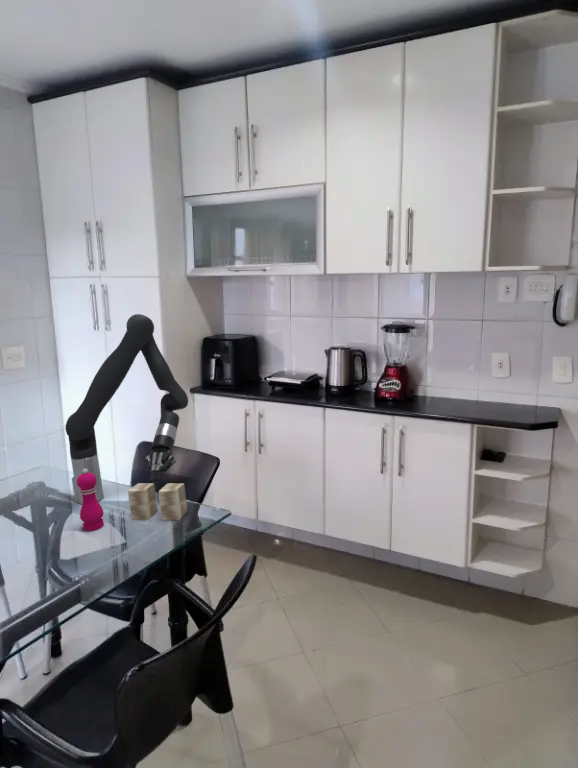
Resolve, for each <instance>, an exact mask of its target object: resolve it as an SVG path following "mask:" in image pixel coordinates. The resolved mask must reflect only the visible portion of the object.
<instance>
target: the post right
mask: <svg viewBox="0 0 578 768" xmlns="http://www.w3.org/2000/svg"><path fill="white" fill-rule="evenodd" d="M158 498H159V504H160V505H159V506H160V514H161V520H162V521H180V520H181V519H182V518H183V517H184V516H185V515H186V514H187V513H188V503H187V497H186V488H185V483H176V482H174V483H172V482H171V483H166V484H165V485H164V486H163V487H161V488H160V489H159V490H158Z"/></svg>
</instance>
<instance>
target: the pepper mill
mask: <svg viewBox="0 0 578 768" xmlns="http://www.w3.org/2000/svg"><path fill="white" fill-rule="evenodd" d="M82 473H83V474H81V475H80V476H79V477H78V478H77V485H78V487H80V494H82V497H83V504H81V509H80V512H79V519H80V521H82V522H83V523H82V529H83V530H84V531H85V532H92V531H96V530H99V529H101V528H103V527H104V525H105V523H104V519H103V516H104V510H103V509H104V508H103V507H102V506H101V503H100V501H97V499H96V495H95V491H96V486H95V484H96V481H97V479H96V476H95V475H94V474H93V473H88V469H83V470H82Z"/></svg>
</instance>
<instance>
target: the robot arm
mask: <svg viewBox="0 0 578 768" xmlns="http://www.w3.org/2000/svg"><path fill="white" fill-rule="evenodd" d="M125 328H126V331H125V333H124V335H123V336H122V338H121V341H120V342H119V344H118V346H117V347H116V348H115V349H114V350H113V351H111V354H110V355H108V356H107V358H106V359H105V360H104V362H103V363H102V364H101V366H100V367H99V369H98V371H97V372H96V374H95V375H94V377H93V379H92V380H91V382H90V385H89V388H88V390H87V391H86V394H85V396H84V398H83V401H82V402H81V404H79V406H78V408H77V409H76V411H75V412H74V413H72V414H71V415H69V417H68V418H67V420H66V423H65V426H64V427H65V428H64V429H65V433H66V435H67V436H68V442H69V443H68V445H69V454H70V461H71V467H72V473H73V477H72V478H71V483H72V490H73V496H74V503H78V504H80V505H82V504H83V497H82V494H80V487H78V485H77V478H78V477H79V476H80V475H81V474H83V473H82V470H83V469H88V473H93V474H94V475H95V476H96V479H97V481H96V484H95V486H96V491H95V495H96V499H97V501H98V502H101V500H103V499H104V497H105V496H104V489H103V483H102V482H103V481H102V476H101V468H100V462H99V456H98V448H97V447H98V446H97V440H96V431H95V430H96V429H95V425H96V423H97V421H98V419H99V418H100V415H101V413H102V411H103V410H104V408H106V406H107V404H108V403H110V401H111V400H112V398H113V396H114V395H115V394H116V392H117V391H118V389H119V388H120V387H121V385H122V383H123V381H124V380H125V378H126V377H127V375H128V373H129V371H130V369H131V368H132V365H133V364H134V362H135V359H136V357H137V356H138V354H139V353H140V351H141V354H142V356H143V357H144V360H145V362H146V365H147V366H148V369H149V372H150V373H151V376H152V378H153V380H154V382H155V384H156V386H157V388H158V390H160V391H165V392H167V393H166V394H163V396H162V397H161V399H160V403H159V404H160V419H159V422H158V425H157V427H156V431H155V434H154V438H153V442H152V445H151V450H150V452H149V454H148V455H147V456H143V457H142V460H143V463H144V464H145V466H146V468H147V470H148V471H149V472H150V475H149V480H150V482H151V483H154V484H155V483H156V484H157V483H158V481H159V480H160V475H161V473H164V472H165V473H166V472H168V470H169V469H170V468H171V467H172V466H173V465H175V464H176V462H177V459H176V458H175V457H174V456H173V449H174V446H175V443H176V440H177V431H178V427H179V423H180V416H179V415H178V413H176V412H174V411H178V410H179V411H180V410H184V409H185V408H187V407H188V404H189V397H188V395H187V393H186V391H185V390H184V389H183V388H182V386H181V385H180V384H179V382H177V380H176V379H175V377H174V375H173V373H172V371H171V368H170V366H169V364H168V363H167V361H166V359H165V358H164V356H163V354H162V352H161V350H160V349H159V346H158V344H157V343H156V340H155V338H154V333H155V332H154V331H155V325H154V322H153V320H152V319H151V318H149V317H148V316H147V315H144V314H141V313H138V314H137V313H136V314H133V315H131V316H130V317H128V320H127V322H126V327H125Z"/></svg>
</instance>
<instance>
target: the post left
mask: <svg viewBox="0 0 578 768" xmlns="http://www.w3.org/2000/svg"><path fill="white" fill-rule="evenodd" d="M155 487H156V486H155V483H152V482H151V483H147V482H146V483H141V482H140V483H137V484H136V485H135V484H134V485H133V487H132V488H130V489H129V490H127V494H128V500H129V507H130V517H131V520H136V521H137V520H140V521H141V520H142V521H143V520H144V521H146V520H147V521H148V520H150V519H151V518H152V517H153V516H154V515H155V514H156V513H158V511H159V510H158V503H157V494H156V488H155Z"/></svg>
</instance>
